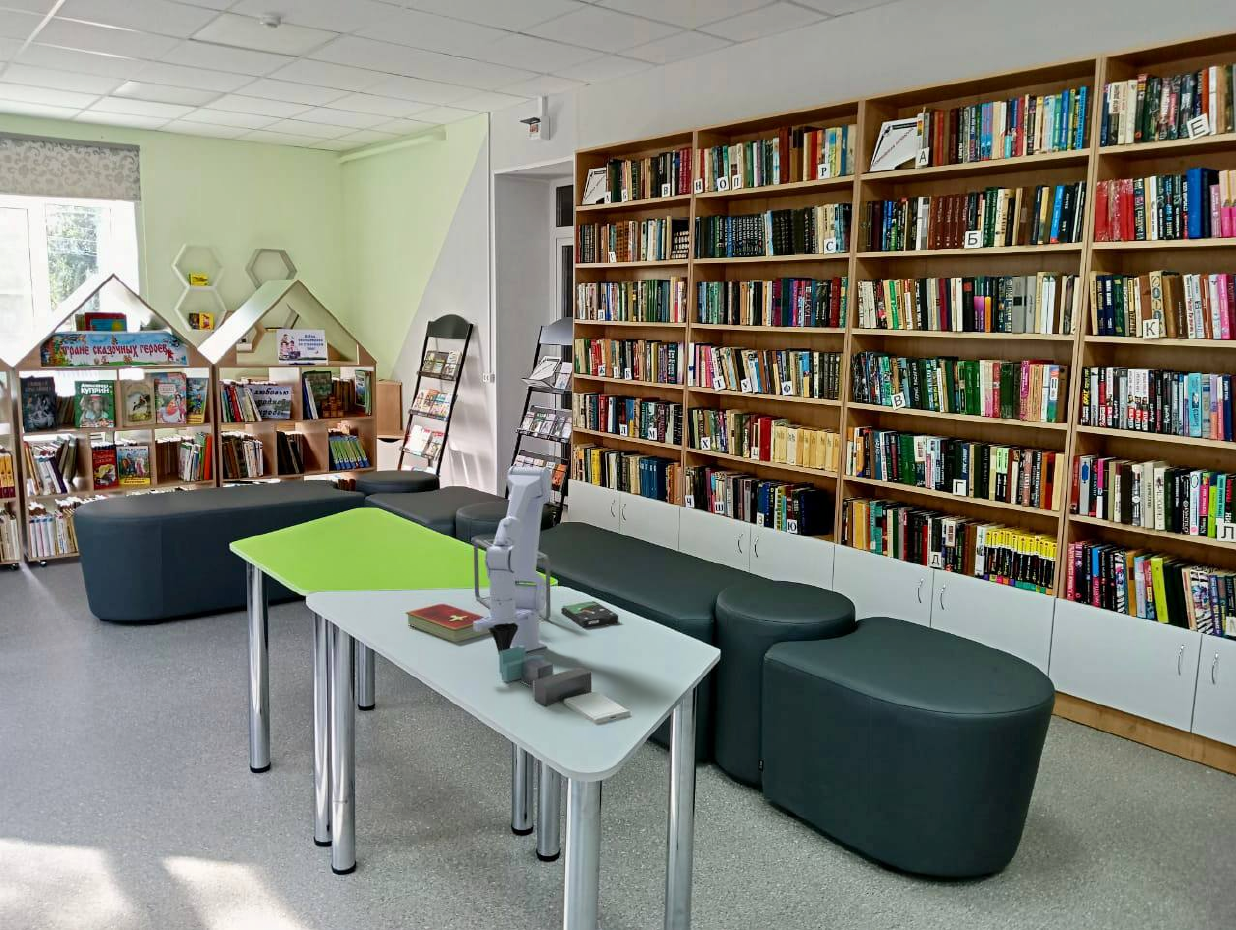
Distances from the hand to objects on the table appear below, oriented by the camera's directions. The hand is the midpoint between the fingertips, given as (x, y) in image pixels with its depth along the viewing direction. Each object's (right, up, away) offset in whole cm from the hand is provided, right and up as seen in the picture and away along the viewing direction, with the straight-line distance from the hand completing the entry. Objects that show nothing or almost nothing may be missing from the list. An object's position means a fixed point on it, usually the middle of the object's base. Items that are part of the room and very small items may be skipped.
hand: (503, 655), depth 222 cm
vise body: (+13, -5, -15) cm, 21 cm away
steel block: (+9, -5, -10) cm, 14 cm away
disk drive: (+19, +2, +38) cm, 42 cm away
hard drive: (+22, -7, -24) cm, 33 cm away
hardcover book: (-17, +1, +29) cm, 34 cm away
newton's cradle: (-3, +3, +45) cm, 46 cm away
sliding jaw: (+4, -3, -4) cm, 6 cm away
